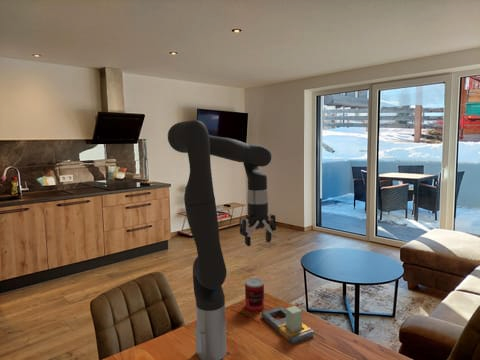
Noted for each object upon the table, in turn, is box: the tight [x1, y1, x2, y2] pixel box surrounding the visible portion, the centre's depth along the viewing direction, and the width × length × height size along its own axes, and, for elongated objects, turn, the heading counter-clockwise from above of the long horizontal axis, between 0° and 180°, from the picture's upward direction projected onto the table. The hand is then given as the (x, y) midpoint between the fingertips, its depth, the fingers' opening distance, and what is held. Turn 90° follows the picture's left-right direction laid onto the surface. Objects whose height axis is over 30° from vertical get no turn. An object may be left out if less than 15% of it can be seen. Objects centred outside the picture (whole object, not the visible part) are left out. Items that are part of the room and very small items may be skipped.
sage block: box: [285, 305, 303, 333], centre depth 121 cm, size 4×4×9 cm
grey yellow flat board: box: [261, 306, 314, 345], centre depth 126 cm, size 9×20×2 cm, turn 27°
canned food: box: [244, 277, 265, 313], centre depth 140 cm, size 8×8×11 cm
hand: (258, 243), depth 127 cm, fingers open, 8 cm apart
